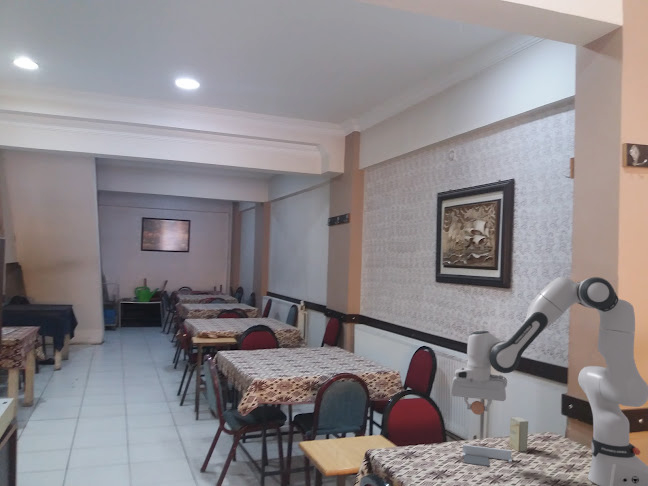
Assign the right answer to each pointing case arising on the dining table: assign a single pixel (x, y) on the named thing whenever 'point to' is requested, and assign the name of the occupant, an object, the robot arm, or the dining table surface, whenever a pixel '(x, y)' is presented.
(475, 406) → the ball
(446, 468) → the dining table surface
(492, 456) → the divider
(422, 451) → the dining table surface
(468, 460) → the coaster
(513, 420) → the skincare box
